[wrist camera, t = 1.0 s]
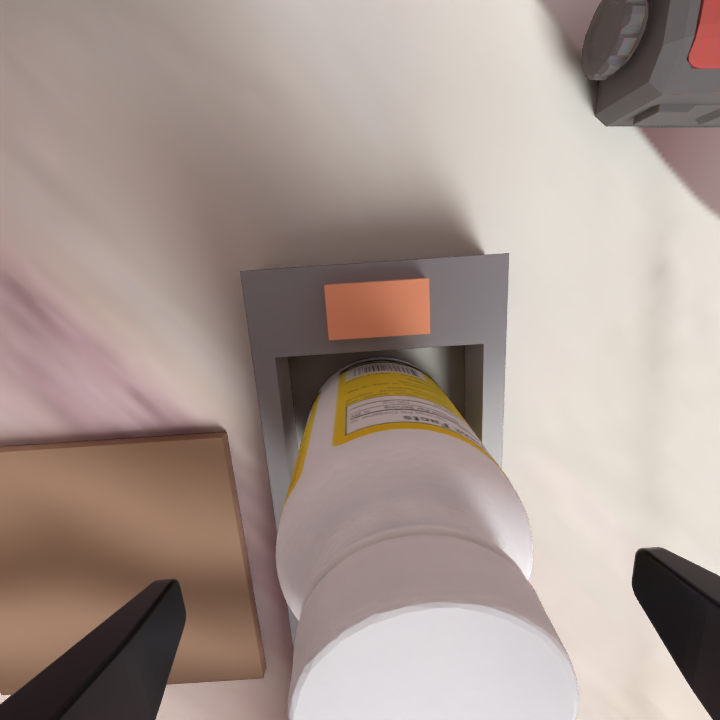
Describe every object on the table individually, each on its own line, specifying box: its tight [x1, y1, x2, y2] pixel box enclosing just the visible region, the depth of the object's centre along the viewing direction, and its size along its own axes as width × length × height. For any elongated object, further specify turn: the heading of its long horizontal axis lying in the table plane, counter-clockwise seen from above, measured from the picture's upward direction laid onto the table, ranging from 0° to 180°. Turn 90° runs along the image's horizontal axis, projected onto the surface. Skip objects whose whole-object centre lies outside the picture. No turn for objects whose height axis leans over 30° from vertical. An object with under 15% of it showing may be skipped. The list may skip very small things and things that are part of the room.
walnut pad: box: [0, 432, 266, 695], centre depth 16 cm, size 12×12×1 cm
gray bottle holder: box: [240, 253, 509, 650], centre depth 14 cm, size 22×8×3 cm, turn 4°
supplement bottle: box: [276, 357, 579, 720], centre depth 10 cm, size 5×5×10 cm
